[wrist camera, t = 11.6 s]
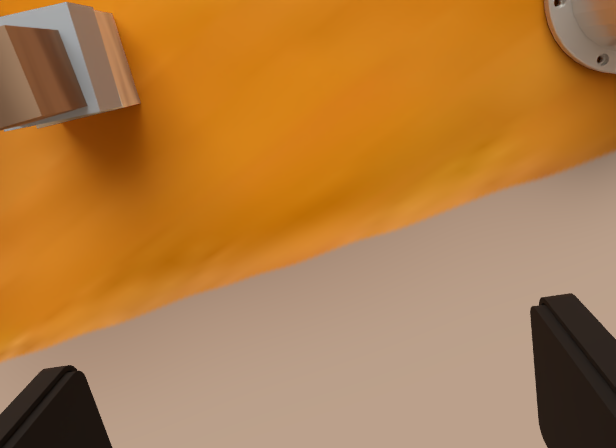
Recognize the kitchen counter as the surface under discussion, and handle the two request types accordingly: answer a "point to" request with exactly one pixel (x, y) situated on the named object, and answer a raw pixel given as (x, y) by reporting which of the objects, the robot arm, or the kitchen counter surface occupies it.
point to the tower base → (112, 66)
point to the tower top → (76, 53)
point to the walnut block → (35, 76)
